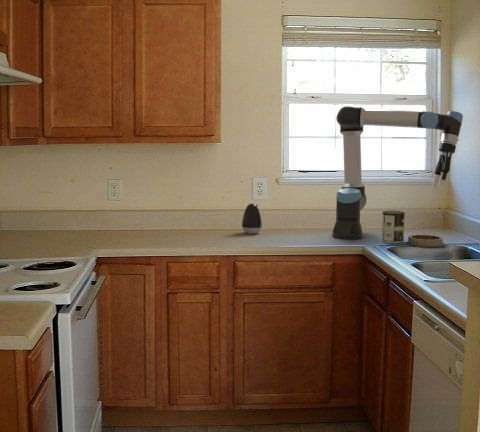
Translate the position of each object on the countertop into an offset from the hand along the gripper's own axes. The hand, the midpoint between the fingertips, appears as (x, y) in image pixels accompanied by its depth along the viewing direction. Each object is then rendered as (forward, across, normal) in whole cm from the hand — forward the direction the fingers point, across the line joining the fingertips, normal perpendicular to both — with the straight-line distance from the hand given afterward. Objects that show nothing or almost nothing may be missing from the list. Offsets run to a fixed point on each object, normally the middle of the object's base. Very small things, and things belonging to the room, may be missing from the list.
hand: (437, 187), depth 320 cm
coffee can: (+30, -3, +15) cm, 34 cm away
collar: (+28, -10, +2) cm, 30 cm away
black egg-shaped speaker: (+43, +13, +82) cm, 93 cm away
